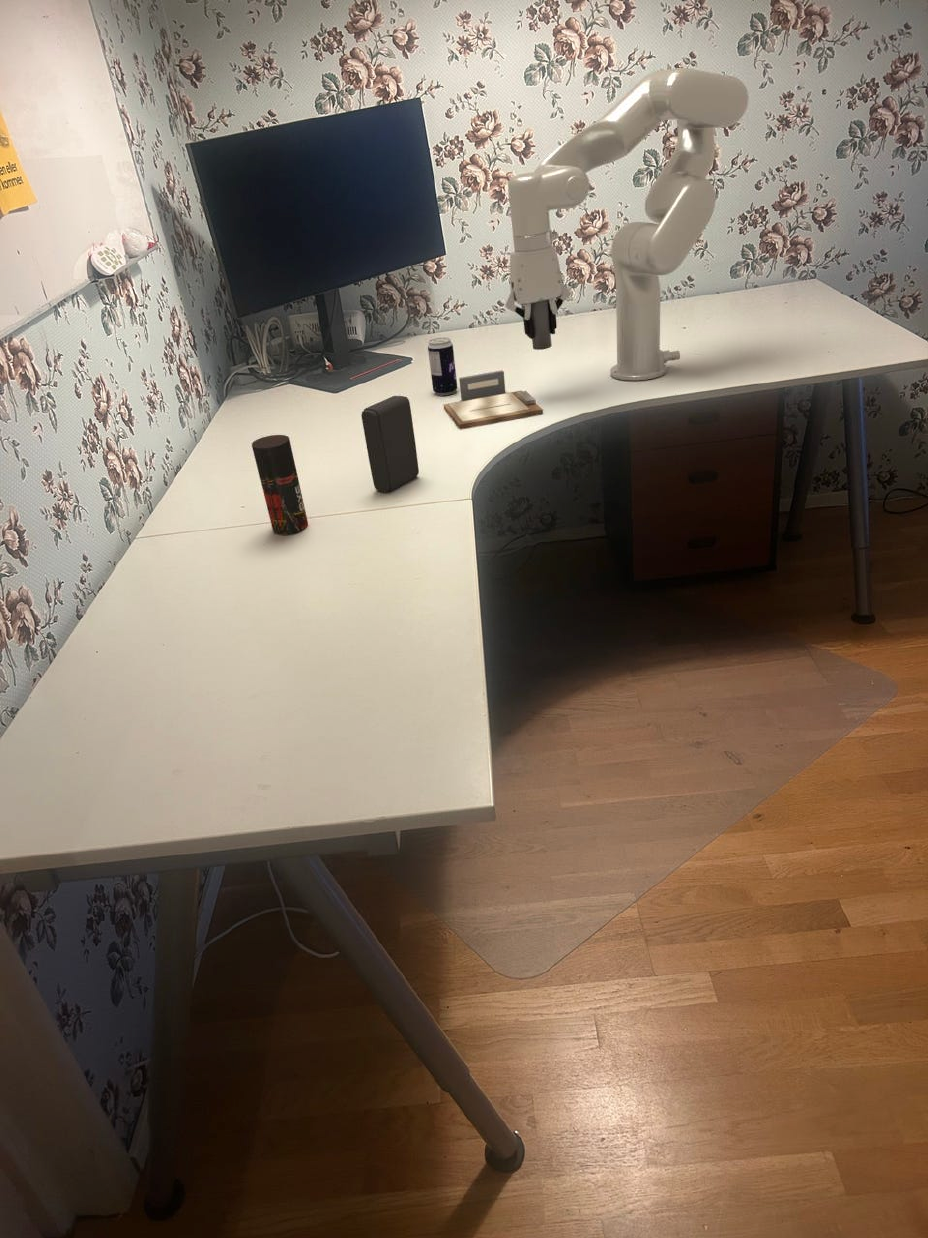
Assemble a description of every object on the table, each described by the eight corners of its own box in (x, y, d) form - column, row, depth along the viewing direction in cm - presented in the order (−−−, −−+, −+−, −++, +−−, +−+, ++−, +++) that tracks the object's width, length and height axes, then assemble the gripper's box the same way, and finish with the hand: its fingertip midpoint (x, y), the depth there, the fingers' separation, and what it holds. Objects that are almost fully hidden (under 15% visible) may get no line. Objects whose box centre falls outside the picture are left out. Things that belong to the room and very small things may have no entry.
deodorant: (274, 522, 144) (253, 437, 136) (309, 517, 144) (290, 432, 136) (271, 537, 139) (249, 450, 131) (307, 532, 139) (287, 445, 131)
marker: (548, 342, 183) (543, 285, 177) (554, 346, 180) (549, 288, 173) (529, 346, 183) (524, 289, 176) (535, 351, 179) (530, 292, 173)
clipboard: (521, 394, 190) (521, 385, 189) (543, 413, 177) (542, 404, 176) (443, 408, 187) (442, 399, 186) (459, 429, 174) (458, 419, 173)
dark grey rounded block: (406, 472, 157) (394, 392, 149) (422, 476, 155) (411, 395, 147) (372, 491, 151) (357, 409, 144) (388, 495, 149) (374, 411, 141)
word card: (504, 392, 193) (502, 370, 190) (505, 393, 192) (503, 371, 189) (461, 399, 191) (459, 377, 189) (462, 401, 190) (460, 379, 188)
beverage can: (455, 396, 194) (449, 342, 188) (431, 397, 195) (424, 344, 189) (460, 388, 199) (454, 336, 193) (436, 389, 200) (430, 337, 194)
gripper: (565, 232, 174) (572, 323, 184) (487, 248, 172) (498, 339, 182) (578, 236, 168) (584, 330, 178) (497, 252, 166) (508, 347, 176)
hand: (541, 334), depth 180 cm, fingers closed on marker, 4 cm apart
